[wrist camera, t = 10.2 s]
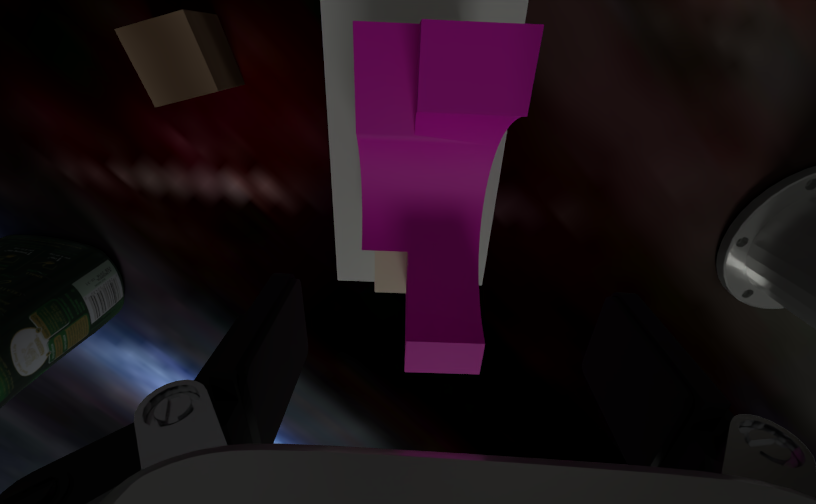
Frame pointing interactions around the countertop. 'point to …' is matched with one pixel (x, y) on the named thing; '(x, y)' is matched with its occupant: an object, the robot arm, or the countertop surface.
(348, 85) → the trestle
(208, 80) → the cube
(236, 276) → the countertop surface
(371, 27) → the toy block
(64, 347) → the coffee jar
